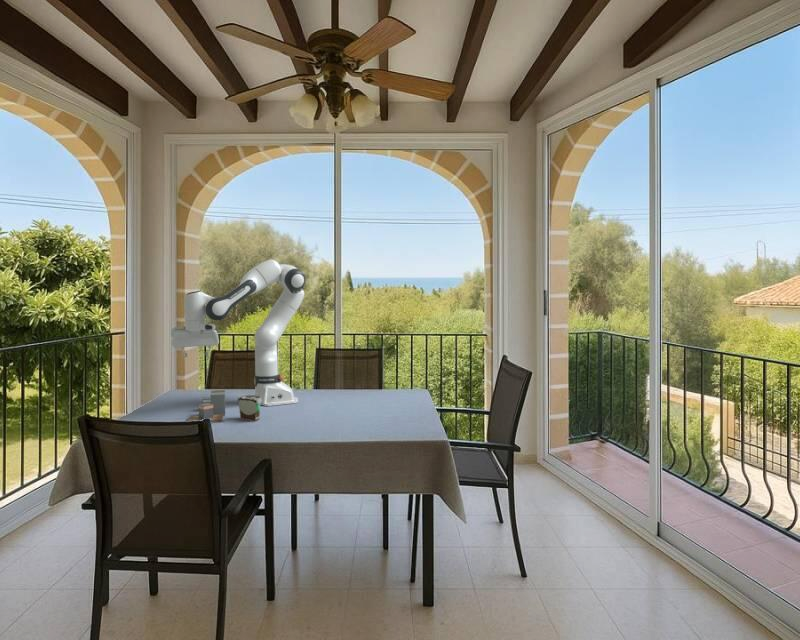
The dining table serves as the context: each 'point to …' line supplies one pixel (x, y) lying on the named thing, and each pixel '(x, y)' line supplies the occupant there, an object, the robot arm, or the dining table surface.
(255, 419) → the food container
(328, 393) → the dining table surface
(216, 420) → the pad
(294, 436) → the dining table surface
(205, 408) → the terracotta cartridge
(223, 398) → the grey upright block
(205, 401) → the grey cartridge
